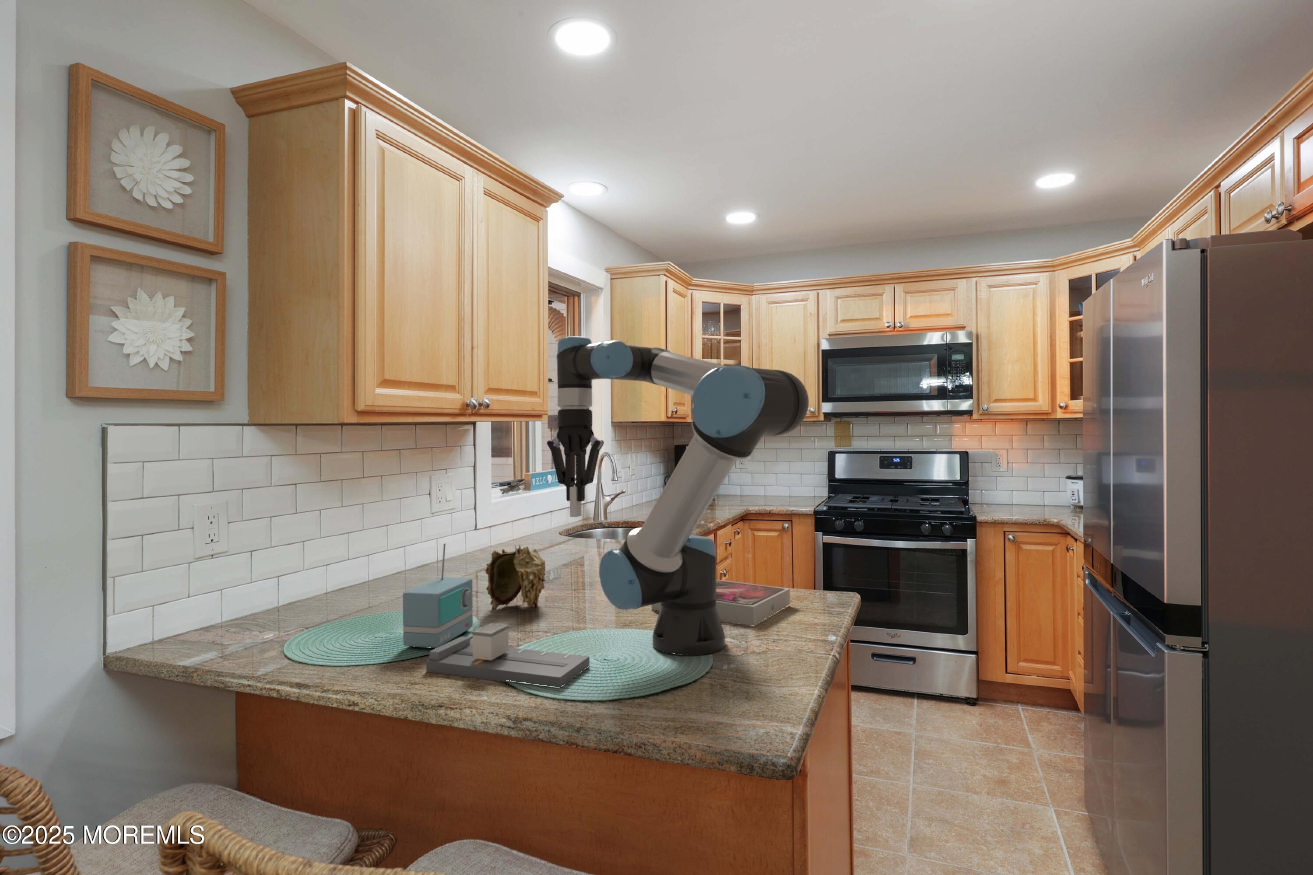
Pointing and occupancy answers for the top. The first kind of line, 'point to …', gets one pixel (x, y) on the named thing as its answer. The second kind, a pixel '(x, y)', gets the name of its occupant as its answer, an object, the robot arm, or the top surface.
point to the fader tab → (490, 641)
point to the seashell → (515, 576)
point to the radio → (437, 611)
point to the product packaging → (746, 601)
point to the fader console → (506, 664)
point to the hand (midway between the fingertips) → (575, 516)
